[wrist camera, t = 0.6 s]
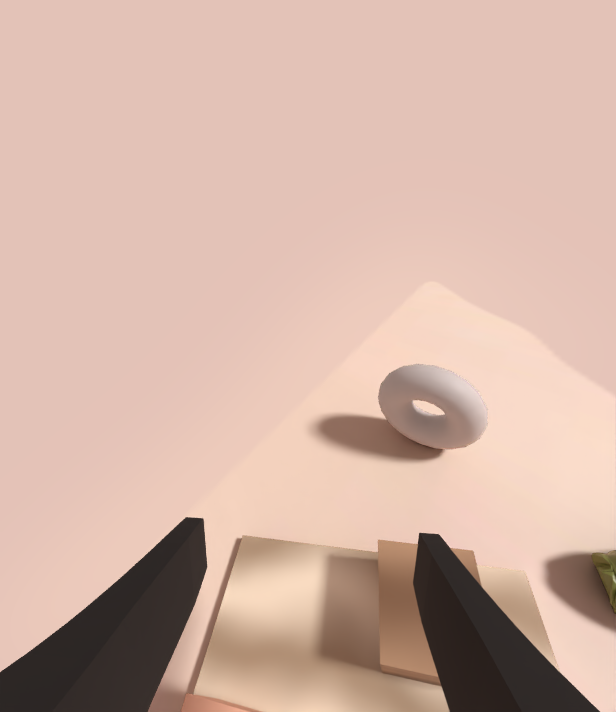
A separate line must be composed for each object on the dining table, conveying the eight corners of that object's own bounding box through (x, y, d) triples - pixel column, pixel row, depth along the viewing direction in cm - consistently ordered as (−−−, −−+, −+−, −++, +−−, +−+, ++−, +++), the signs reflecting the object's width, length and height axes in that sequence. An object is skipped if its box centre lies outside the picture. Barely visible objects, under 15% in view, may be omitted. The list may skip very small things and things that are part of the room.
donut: (375, 434, 32) (370, 368, 26) (386, 413, 34) (384, 347, 28) (474, 472, 27) (496, 399, 21) (481, 444, 29) (502, 370, 23)
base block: (491, 697, 16) (507, 692, 14) (382, 672, 18) (380, 663, 15) (464, 571, 21) (473, 550, 18) (379, 560, 22) (377, 539, 20)
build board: (711, 1138, 9) (732, 1165, 9) (146, 863, 15) (136, 869, 14) (522, 574, 21) (525, 570, 20) (245, 538, 26) (242, 534, 26)
